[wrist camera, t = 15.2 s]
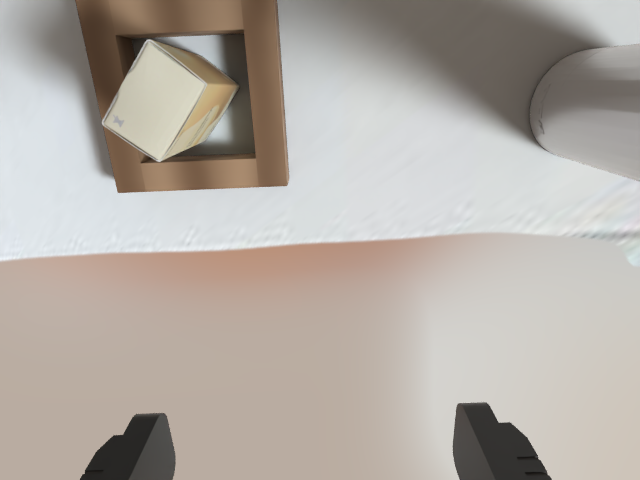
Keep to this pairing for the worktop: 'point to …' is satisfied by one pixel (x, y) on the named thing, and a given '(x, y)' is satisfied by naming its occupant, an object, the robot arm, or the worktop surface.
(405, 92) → the worktop surface
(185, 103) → the skincare box
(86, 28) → the socket block
